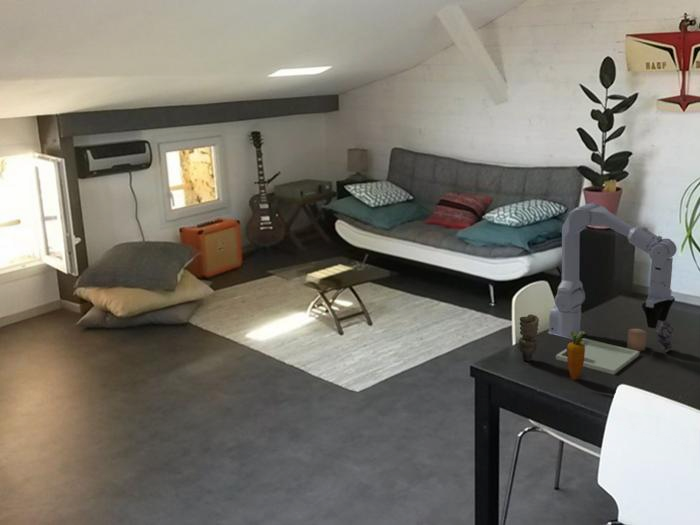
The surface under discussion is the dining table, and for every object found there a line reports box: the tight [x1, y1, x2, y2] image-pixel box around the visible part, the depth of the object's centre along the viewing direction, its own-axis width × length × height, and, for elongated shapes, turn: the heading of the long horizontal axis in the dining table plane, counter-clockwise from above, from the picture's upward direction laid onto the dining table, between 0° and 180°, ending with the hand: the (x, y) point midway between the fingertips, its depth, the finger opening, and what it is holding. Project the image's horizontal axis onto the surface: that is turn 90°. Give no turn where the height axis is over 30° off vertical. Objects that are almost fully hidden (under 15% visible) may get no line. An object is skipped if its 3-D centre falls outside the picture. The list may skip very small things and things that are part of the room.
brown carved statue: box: [518, 314, 540, 362], centre depth 216 cm, size 6×6×15 cm
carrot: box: [566, 331, 585, 381], centre depth 202 cm, size 5×5×15 cm
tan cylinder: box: [626, 328, 647, 352], centre depth 223 cm, size 5×5×6 cm
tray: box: [555, 337, 641, 375], centre depth 218 cm, size 18×18×2 cm
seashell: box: [655, 320, 676, 353], centre depth 221 cm, size 5×5×10 cm
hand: (656, 323), depth 217 cm, fingers open, 7 cm apart
